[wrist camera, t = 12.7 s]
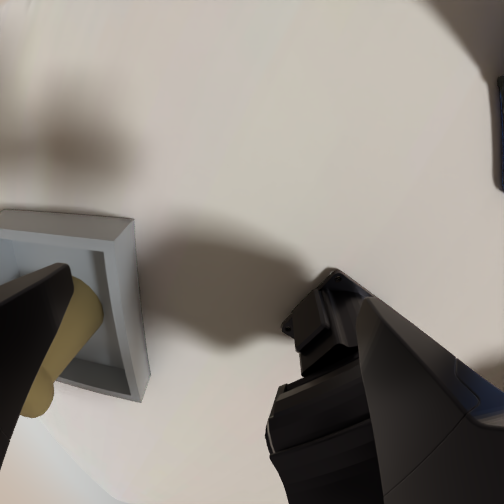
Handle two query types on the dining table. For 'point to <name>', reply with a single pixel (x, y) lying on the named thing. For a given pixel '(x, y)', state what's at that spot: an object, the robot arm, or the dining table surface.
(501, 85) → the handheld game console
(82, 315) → the cork
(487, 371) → the dining table surface
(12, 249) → the tray
